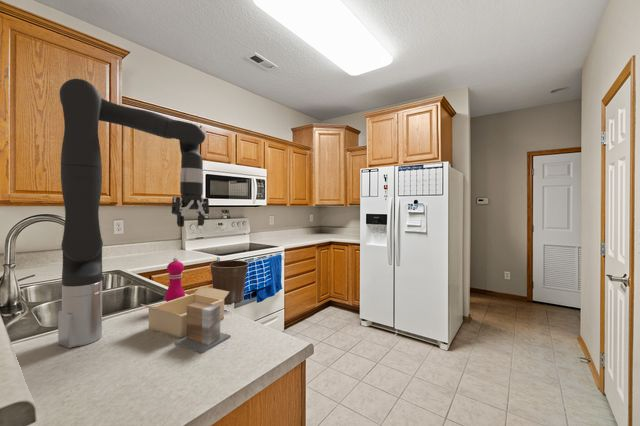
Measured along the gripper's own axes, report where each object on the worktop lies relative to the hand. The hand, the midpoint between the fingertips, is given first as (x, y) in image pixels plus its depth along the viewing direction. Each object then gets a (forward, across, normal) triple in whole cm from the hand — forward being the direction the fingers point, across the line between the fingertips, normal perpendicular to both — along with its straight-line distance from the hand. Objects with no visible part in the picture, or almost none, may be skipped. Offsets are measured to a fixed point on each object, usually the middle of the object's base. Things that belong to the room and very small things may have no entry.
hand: (191, 226), depth 105 cm
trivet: (+33, -12, -20) cm, 40 cm away
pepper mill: (+33, +3, +12) cm, 36 cm away
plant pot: (+33, +20, 0) cm, 39 cm away
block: (+32, -12, -19) cm, 40 cm away
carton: (+33, -5, -5) cm, 34 cm away
